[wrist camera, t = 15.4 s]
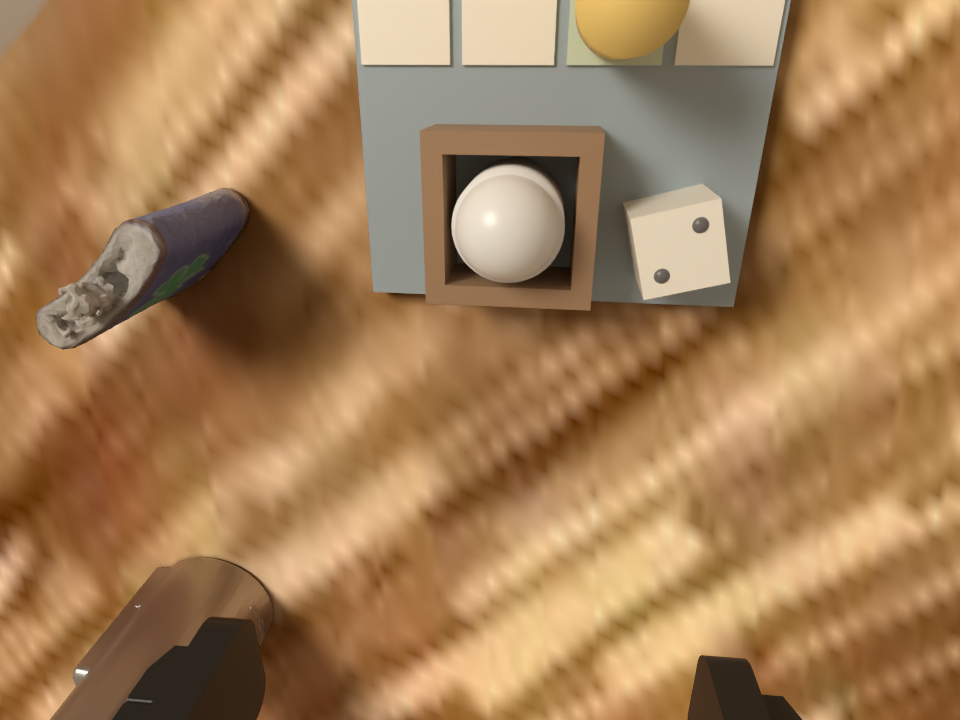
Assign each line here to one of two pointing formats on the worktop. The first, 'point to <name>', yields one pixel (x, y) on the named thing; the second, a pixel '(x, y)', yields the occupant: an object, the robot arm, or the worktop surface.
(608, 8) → the yellow rounded oblong piece
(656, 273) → the die
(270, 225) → the worktop surface
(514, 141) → the board
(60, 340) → the navy rounded piece
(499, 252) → the white rounded egg-shaped piece
